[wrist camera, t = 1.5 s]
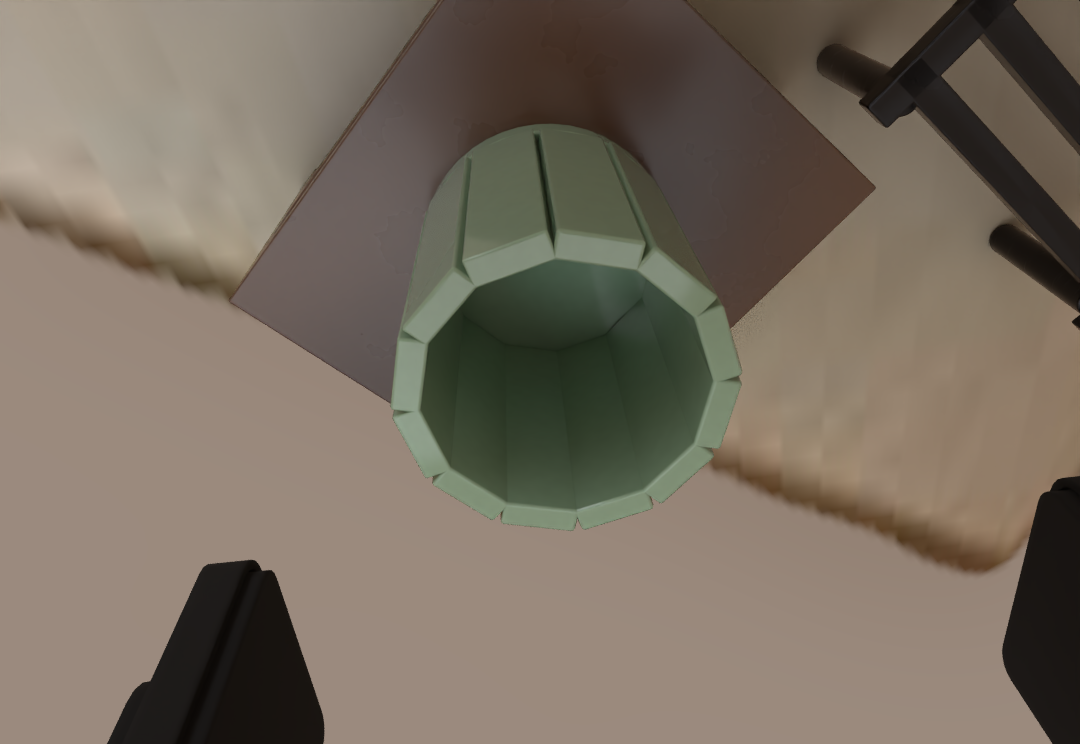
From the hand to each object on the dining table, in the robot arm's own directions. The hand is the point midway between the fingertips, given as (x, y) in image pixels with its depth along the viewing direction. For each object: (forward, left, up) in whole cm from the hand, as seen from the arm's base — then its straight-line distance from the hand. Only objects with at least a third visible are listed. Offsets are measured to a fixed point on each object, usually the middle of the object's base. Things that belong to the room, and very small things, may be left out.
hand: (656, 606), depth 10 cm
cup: (0, -1, -15) cm, 15 cm away
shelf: (0, -1, -25) cm, 25 cm away
